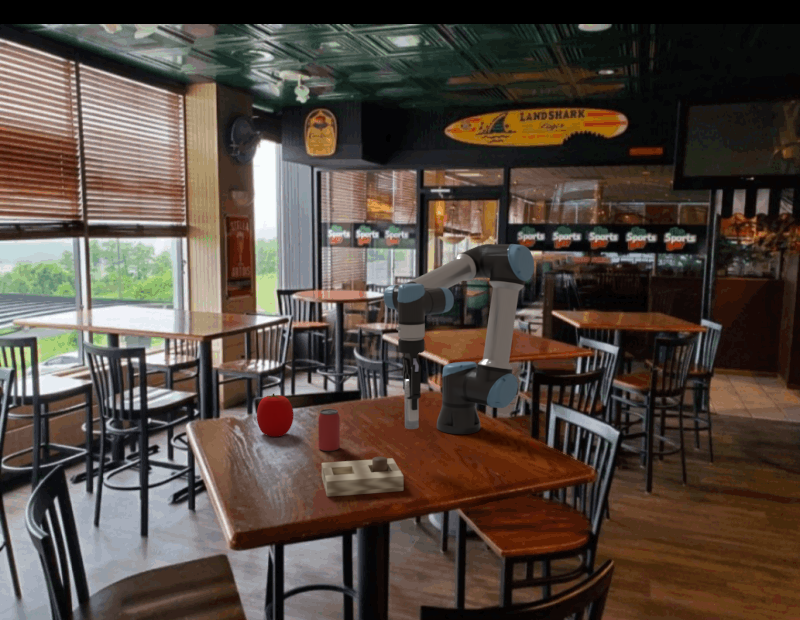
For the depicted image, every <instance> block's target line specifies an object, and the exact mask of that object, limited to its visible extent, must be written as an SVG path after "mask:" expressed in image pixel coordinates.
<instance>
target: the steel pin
mask: <svg viewBox="0 0 800 620" xmlns="http://www.w3.org/2000/svg"><path fill="white" fill-rule="evenodd" d="M409 396H410V393H409V378H407V379H405V392H404V428H405V429H407V430H415V429H418V428H419V423H420V421H419V420H420V419H419V420H418V421H409V399H407V397H409ZM419 399H420V398H419ZM419 399H418V403H419Z"/></svg>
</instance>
